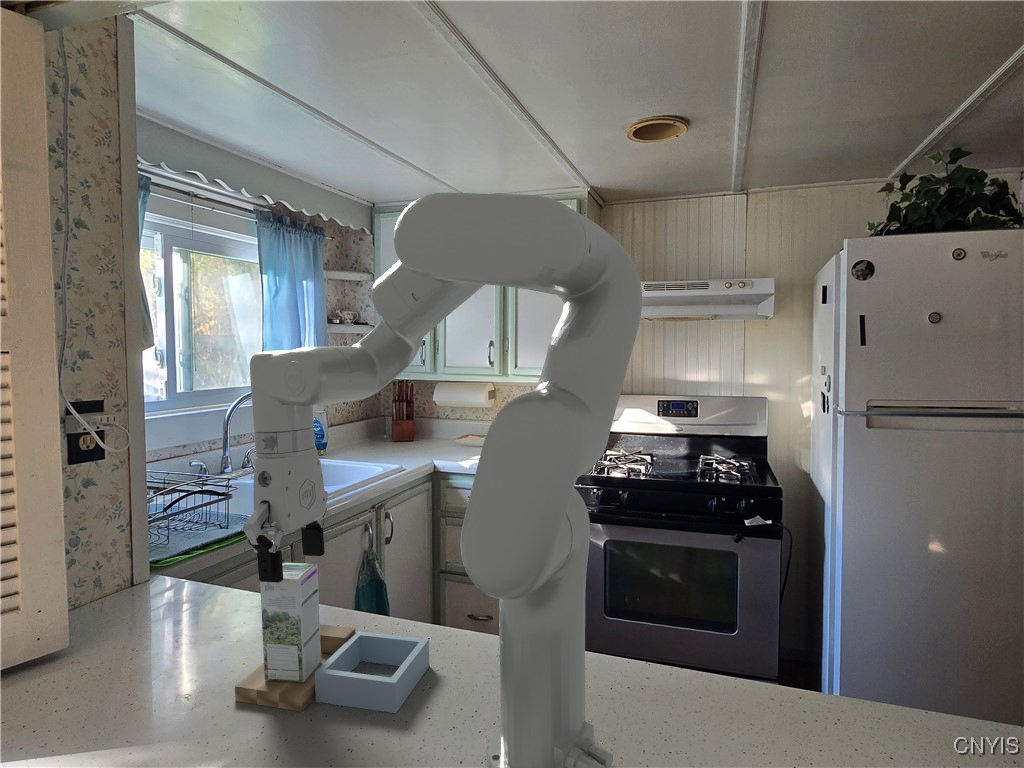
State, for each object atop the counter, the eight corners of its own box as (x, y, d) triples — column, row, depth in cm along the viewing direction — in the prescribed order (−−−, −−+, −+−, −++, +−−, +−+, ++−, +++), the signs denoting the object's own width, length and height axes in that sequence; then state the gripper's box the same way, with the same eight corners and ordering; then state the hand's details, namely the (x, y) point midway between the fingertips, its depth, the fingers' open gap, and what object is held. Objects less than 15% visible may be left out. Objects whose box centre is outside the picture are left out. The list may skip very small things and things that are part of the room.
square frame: (429, 665, 86) (428, 639, 86) (395, 713, 75) (395, 682, 75) (358, 657, 89) (357, 631, 89) (315, 701, 78) (314, 672, 78)
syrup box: (322, 661, 84) (319, 561, 83) (303, 685, 78) (299, 577, 77) (284, 659, 85) (280, 560, 84) (262, 682, 79) (258, 576, 78)
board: (343, 669, 85) (342, 656, 85) (301, 711, 76) (301, 696, 76) (282, 661, 88) (282, 648, 88) (235, 700, 78) (234, 686, 78)
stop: (356, 657, 89) (355, 628, 88) (346, 668, 86) (345, 638, 86) (297, 650, 91) (296, 621, 91) (285, 660, 88) (284, 630, 88)
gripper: (269, 453, 70) (279, 594, 71) (343, 433, 87) (350, 547, 88) (215, 454, 72) (225, 591, 73) (298, 433, 89) (305, 546, 90)
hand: (293, 567), depth 80 cm, fingers open, 9 cm apart
